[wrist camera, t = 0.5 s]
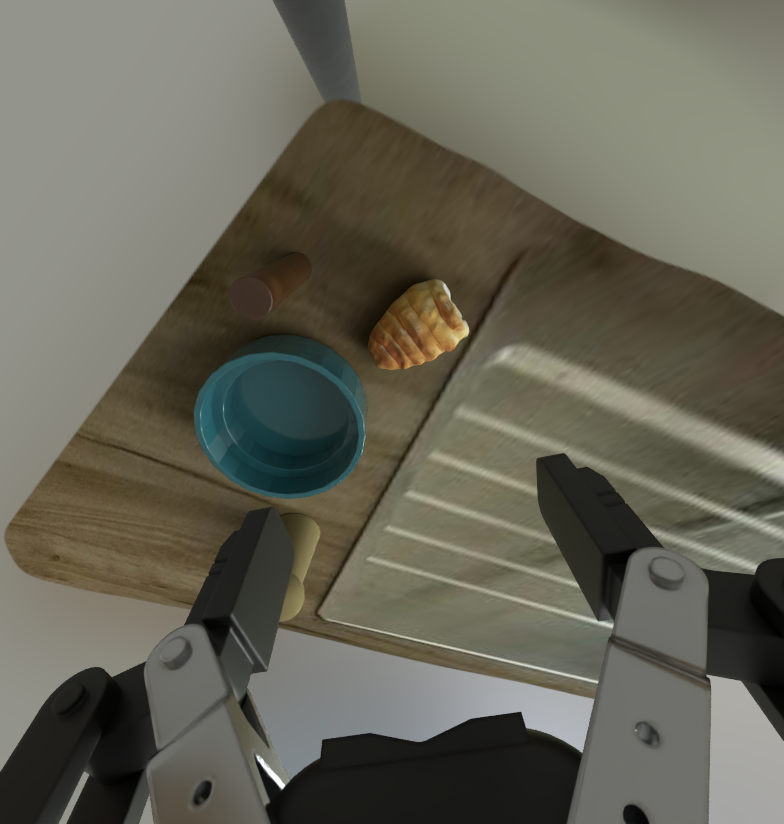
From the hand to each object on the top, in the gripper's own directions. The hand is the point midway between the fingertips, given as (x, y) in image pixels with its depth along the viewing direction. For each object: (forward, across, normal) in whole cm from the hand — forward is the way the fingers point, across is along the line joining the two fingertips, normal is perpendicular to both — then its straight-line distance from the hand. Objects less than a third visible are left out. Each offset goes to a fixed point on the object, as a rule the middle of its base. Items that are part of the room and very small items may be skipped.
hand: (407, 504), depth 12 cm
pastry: (+28, -2, +2) cm, 28 cm away
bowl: (+27, +12, +8) cm, 31 cm away
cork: (+27, +17, +25) cm, 41 cm away
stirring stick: (+27, +7, -5) cm, 29 cm away
